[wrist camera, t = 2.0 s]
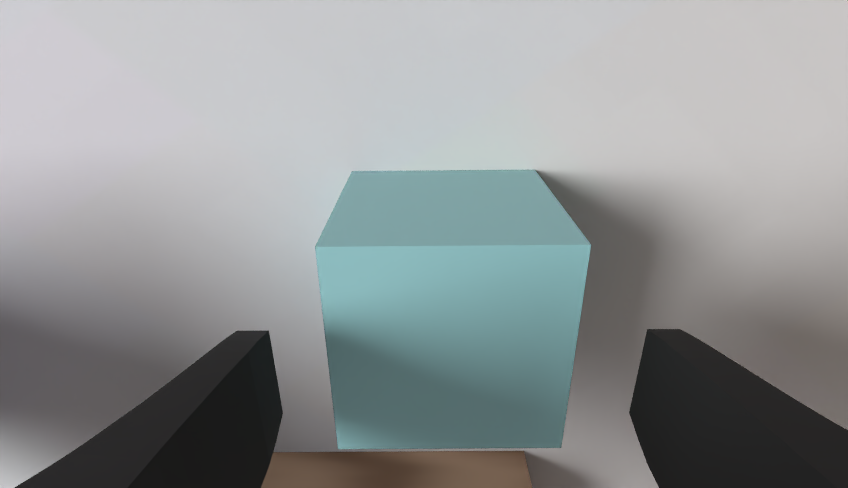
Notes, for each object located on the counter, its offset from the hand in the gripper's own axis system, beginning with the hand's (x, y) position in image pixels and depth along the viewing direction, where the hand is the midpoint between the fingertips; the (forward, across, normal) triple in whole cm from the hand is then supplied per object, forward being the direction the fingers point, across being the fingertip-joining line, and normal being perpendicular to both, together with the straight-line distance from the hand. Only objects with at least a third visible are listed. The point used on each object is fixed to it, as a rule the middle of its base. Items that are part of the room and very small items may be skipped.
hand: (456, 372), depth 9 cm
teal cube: (+6, 0, 0) cm, 6 cm away
